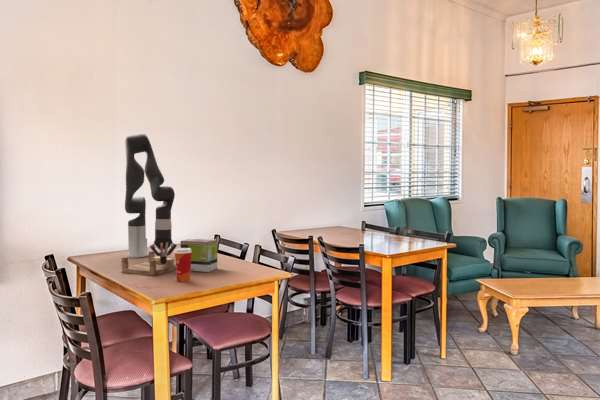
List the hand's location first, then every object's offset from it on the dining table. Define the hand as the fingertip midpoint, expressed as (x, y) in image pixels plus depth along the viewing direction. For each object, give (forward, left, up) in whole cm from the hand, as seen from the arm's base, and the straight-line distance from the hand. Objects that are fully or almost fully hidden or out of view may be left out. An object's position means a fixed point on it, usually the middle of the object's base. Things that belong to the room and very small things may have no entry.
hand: (163, 264), depth 231 cm
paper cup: (+12, +22, -4) cm, 25 cm away
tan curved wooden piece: (-4, -4, -1) cm, 6 cm away
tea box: (-10, +14, -4) cm, 17 cm away
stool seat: (+1, -6, -3) cm, 7 cm away
